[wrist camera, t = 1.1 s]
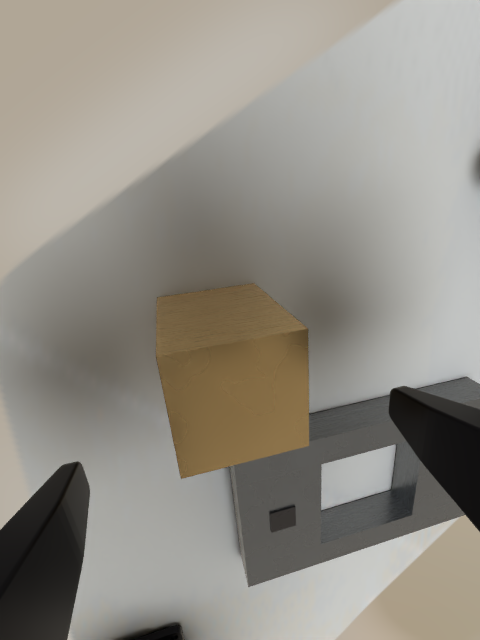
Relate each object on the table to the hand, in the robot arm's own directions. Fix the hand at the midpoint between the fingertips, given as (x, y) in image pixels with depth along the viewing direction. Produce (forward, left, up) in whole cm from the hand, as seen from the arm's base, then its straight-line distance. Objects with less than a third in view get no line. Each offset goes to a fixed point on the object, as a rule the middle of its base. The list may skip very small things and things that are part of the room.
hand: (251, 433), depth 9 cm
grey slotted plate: (-11, -8, -7) cm, 15 cm away
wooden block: (0, 0, -7) cm, 7 cm away
